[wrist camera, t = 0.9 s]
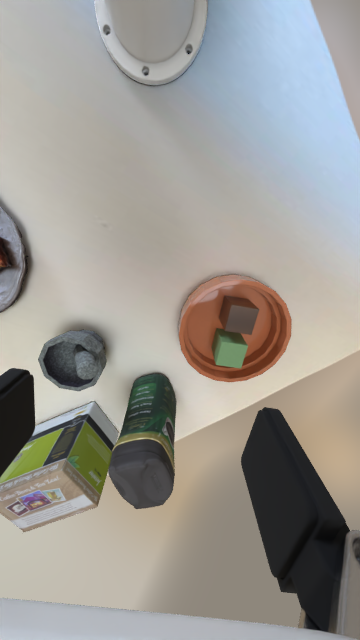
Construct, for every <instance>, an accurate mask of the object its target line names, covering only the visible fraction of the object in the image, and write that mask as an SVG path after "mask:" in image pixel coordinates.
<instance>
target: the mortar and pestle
mask: <svg viewBox="0 0 360 640" xmlns="http://www.w3.org/2000/svg"><path fill="white" fill-rule="evenodd" d="M104 349H105V347H104V343H103V339H102V338H101V337H100V336H99V335H98V334H96V333H95V332H94V331H89V330H84V329H83V330H81V331H79V332H78V331H68V332H66V333H64V334H62V335H59V336H57V337H55V338H53V339H51V340H49V341H48V342H46V343H45V344H44V346H43V349H42V351H41V353H40V356H39V358H38V361H39V363H40V366H41V369H42V371H43V374H44V376H45V377H46V378H47V379H49V380H50V381H51V382H53V383H54V384H55V385H57V386H58V387H59V388H63V389H69V390H74V391H81V390H83V389H86V388H88V387H91V386H94V385H95V384H96V382H97V380H98V379H99V377H100V375H101V373H102V371H103V369H104V367H105V365H106V358H105V354H104Z"/></svg>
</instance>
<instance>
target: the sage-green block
mask: <svg viewBox="0 0 360 640" xmlns="http://www.w3.org/2000/svg"><path fill="white" fill-rule="evenodd" d="M247 348H248V345H247V343H246V342H245V340H244V338H243V337H242V335H241V334H240V333H235V332H228V331H225V330H224V329H219V328H216V332H215V336H214V340H213V344H212V348H211V349H212V353H213V356H214V360H215V363H216V365H220V366H227V367H234V368H240V369H241V367H242V364H243V361H244V358H245V354H246V351H247Z"/></svg>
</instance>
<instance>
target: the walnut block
mask: <svg viewBox="0 0 360 640" xmlns="http://www.w3.org/2000/svg"><path fill="white" fill-rule="evenodd" d="M258 312H259V308H257V307H256V306H255V305H254V304H253V303H252V302H251V301H250V300H249V299H244V298H238V297H232V296H226V295H224V299H223V303H222V307H221V311H220V315H219V320H220V322H221V324H222V326H223V328H224V330H225V331H228V332H235V333H241V334H248V335H252V332H253V329H254V325H255V322H256V319H257V316H258Z"/></svg>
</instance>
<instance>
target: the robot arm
mask: <svg viewBox="0 0 360 640" xmlns="http://www.w3.org/2000/svg"><path fill="white" fill-rule="evenodd" d="M94 1H95V12H96V18H97V23H98V27H99V30H100V33H101V36H102V39H103V41H104V44H105V46H106V48H107V50H108V52H109V54H110V56H111V57H112V59H113V61H114V62H115V63H116V64H117V66H118V67H119V68H120V69H121V70H122V71H123V72H124V73H125V74H126V75H128V76H129V77H130V78H132V79H134V80H136V81H137V82H140V83H143V84H147V85H161V84H166V83H169V82H171V81H173V80H175V79H177V78H178V77H179V76H180V75H182V74H183V73H184V72H185V71H186V70H187V69H188V67H189V66H190V65H191V64H192V62H193V60H194V59H195V57H196V55H197V53H198V51H199V49H200V46H201V43H202V41H203V37H204V32H205V28H206V20H207V6H208V0H94ZM108 34H109V35H108ZM187 53H190V54H187ZM145 74H148V75H147V76H145ZM34 430H35V405H34V378H33V375H30V372H29V371H28V370H22V369H16V368H11V369H9V370H8V371H6V372H5V373H4V374H2V375H1V376H0V477H1V476H2V475H3V473H4V472H5V471H6V469H7V468H8V467H9V465H10V464H11V463H12V461H13V460H14V459H15V458H16V456H17V455H18V454H19V452H20V451H21V450H22V448H23V447H24V446H25V445H26V443H27V442H28V441H29V439H30V438H31V437H32V435H33V433H34ZM241 465H242V469H243V472H244V476H245V480H246V483H247V487H248V490H249V494H250V498H251V501H252V505H253V509H254V512H255V516H256V519H257V523H258V527H259V530H260V534H261V537H262V541H263V545H264V548H265V552H266V556H267V559H268V563H269V566H270V569H271V572H272V574H273V576H274V577H276V578H277V580H278V583H279V586H280V590H281V592H287V593H297V596H298V599H299V602H300V605H301V608H302V609H301V614H300V619H299V625H298V628H294V627H287V626H279V625H271V624H263V623H254V622H245V621H235V620H225V619H215V618H206V617H196V616H186V615H176V614H167V613H156V612H146V611H135V610H125V609H115V608H104V607H94V606H84V605H83V606H82V605H72V604H63V603H52V602H42V601H30V600H19V599H8V598H0V640H360V531H359V530H352V531H350V530H349V528H348V526H347V525H346V523H345V522H346V521H345V519H344V518H343V516H342V514H341V512H340V511H339V509H338V507H337V506H336V504H335V502H334V501H333V499H332V497H331V496H330V494H329V492H328V491H327V489H326V487H325V486H324V484H323V482H322V480H321V479H320V477H319V476H318V474H317V472H316V471H315V469H314V467H313V465H312V464H311V462H310V460H309V459H308V457H307V455H306V454H305V452H304V450H303V449H302V447H301V445H300V444H299V442H298V440H297V439H296V437H295V435H294V433H293V432H292V430H291V428H290V427H289V425H288V423H287V422H286V420H285V418H284V417H283V415H282V413H281V412H280V411H279V410H278V409H272V408H266V407H265V408H263V409H262V410H260V411H259V412H258V414H257V416H256V419H255V422H254V424H253V427H252V430H251V433H250V435H249V438H248V441H247V443H246V446H245V449H244V451H243V454H242V457H241Z"/></svg>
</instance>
